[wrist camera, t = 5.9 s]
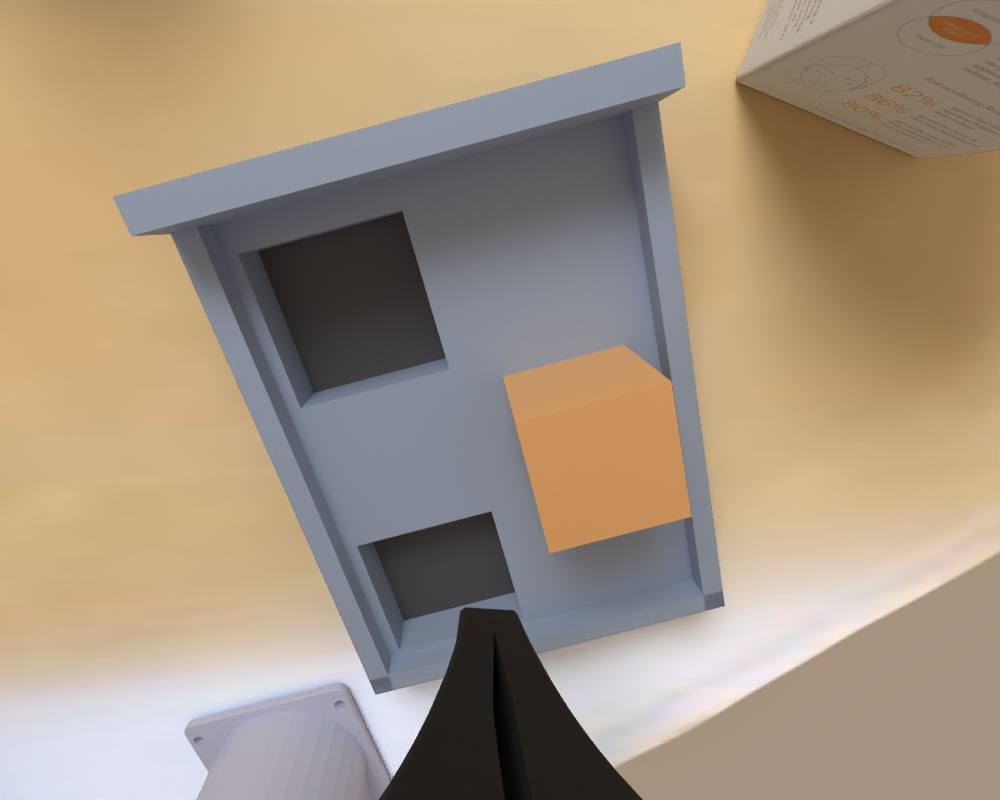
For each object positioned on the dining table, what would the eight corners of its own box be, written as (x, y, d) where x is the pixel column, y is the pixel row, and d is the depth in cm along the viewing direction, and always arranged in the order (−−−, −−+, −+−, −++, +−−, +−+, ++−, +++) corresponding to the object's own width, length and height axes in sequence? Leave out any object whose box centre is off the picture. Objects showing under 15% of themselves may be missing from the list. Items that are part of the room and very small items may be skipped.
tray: (694, 561, 25) (749, 642, 20) (385, 640, 25) (367, 739, 20) (622, 88, 18) (680, 42, 13) (202, 201, 18) (113, 196, 14)
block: (643, 454, 20) (691, 516, 16) (531, 484, 21) (549, 553, 16) (623, 344, 19) (671, 381, 15) (503, 376, 19) (515, 422, 15)
